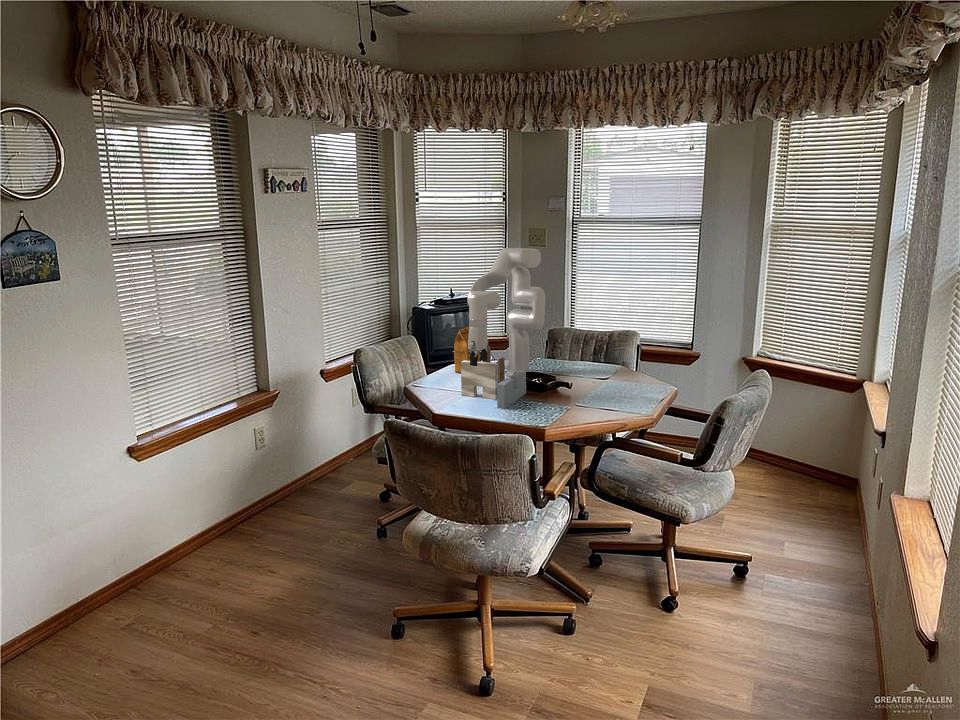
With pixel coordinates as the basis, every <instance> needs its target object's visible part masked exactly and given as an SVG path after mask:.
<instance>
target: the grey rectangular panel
mask: <svg viewBox="0 0 960 720" xmlns="http://www.w3.org/2000/svg"><path fill="white" fill-rule="evenodd" d="M526 394H527V377H526V371H520V370H519V371H518V372H516V373H515V374H513V375H511V377H510V378H505V380H503V381H502V382H500V383H499V384H497V399H496V403H497V404H496V405H497V406H496V407H497V409H499V408H501V410H505V409H506V408H508V407H509V406H510V405H512V404H513V403H515V402H516V401H517V400H519V399H520V398H522V397H523V396H524V395H526Z"/></svg>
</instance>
